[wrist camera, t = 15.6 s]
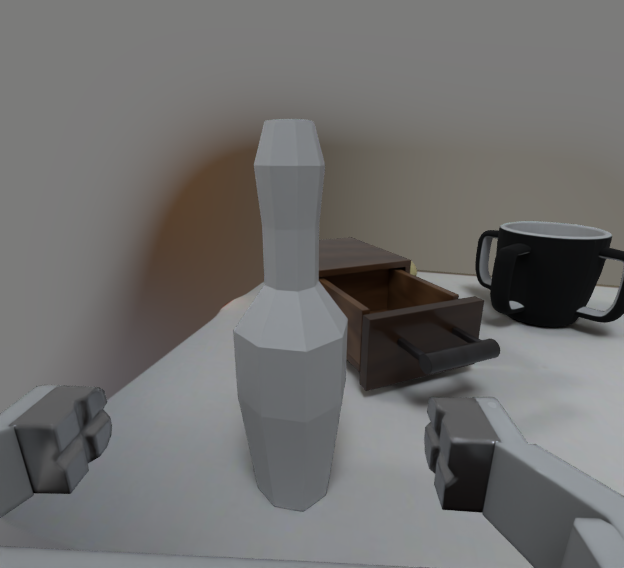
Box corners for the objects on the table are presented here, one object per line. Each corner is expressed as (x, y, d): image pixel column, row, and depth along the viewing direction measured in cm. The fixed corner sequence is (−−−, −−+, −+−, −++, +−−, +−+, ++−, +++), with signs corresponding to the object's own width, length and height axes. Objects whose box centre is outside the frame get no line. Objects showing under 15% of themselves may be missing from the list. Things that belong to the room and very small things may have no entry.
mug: (588, 303, 56) (607, 222, 53) (631, 352, 42) (662, 246, 38) (470, 290, 62) (480, 216, 58) (472, 329, 47) (486, 235, 44)
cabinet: (405, 324, 49) (411, 260, 46) (308, 342, 44) (308, 271, 41) (349, 288, 63) (351, 237, 60) (270, 299, 58) (268, 243, 55)
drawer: (515, 389, 34) (529, 319, 31) (397, 424, 29) (404, 345, 27) (392, 312, 50) (396, 263, 48) (306, 327, 46) (305, 273, 44)
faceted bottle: (311, 542, 21) (313, 110, 14) (225, 494, 24) (192, 118, 17) (358, 467, 26) (375, 123, 19) (282, 434, 29) (274, 128, 22)
